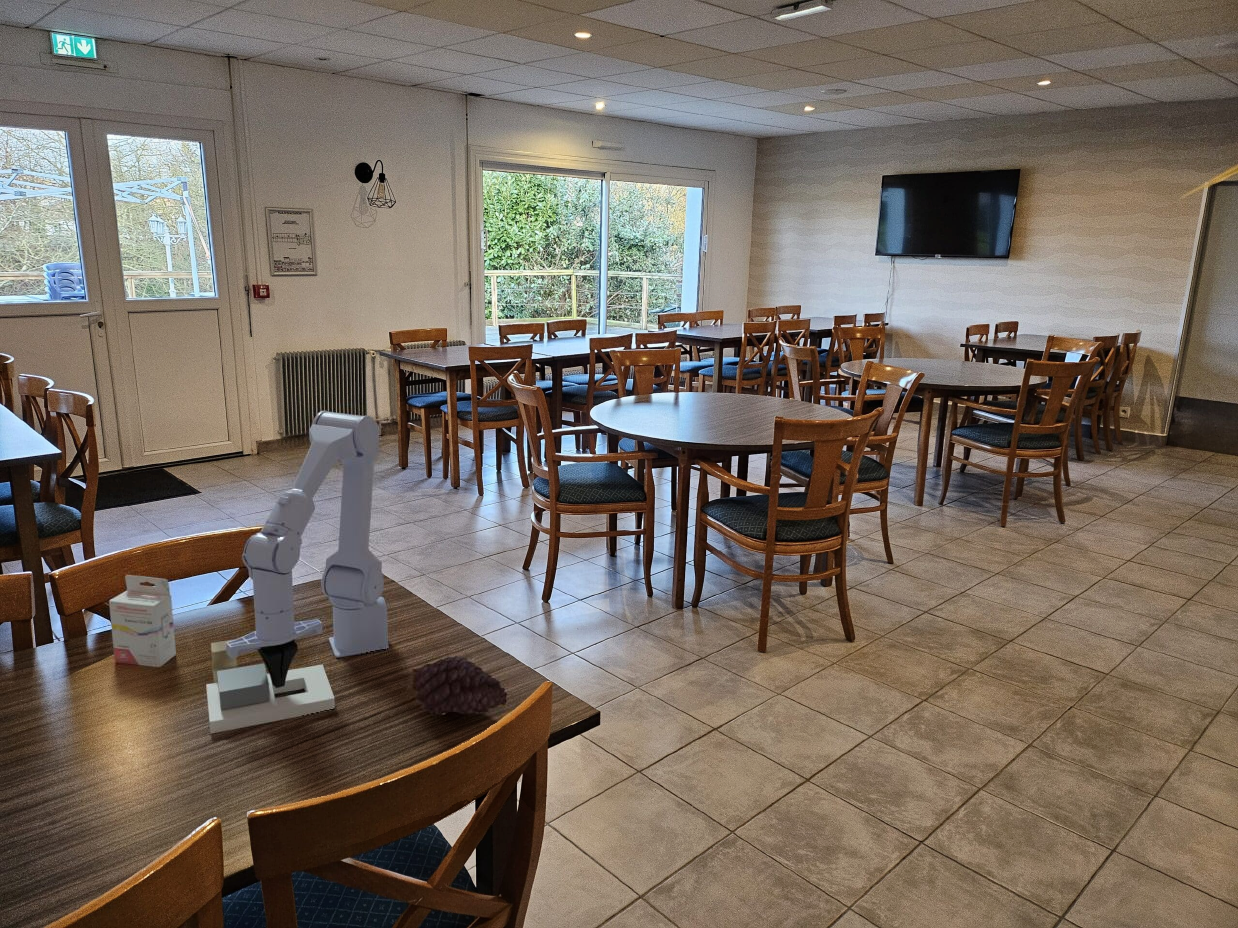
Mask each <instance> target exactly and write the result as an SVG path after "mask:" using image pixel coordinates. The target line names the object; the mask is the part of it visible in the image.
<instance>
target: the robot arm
mask: <svg viewBox="0 0 1238 928" xmlns="http://www.w3.org/2000/svg"><path fill="white" fill-rule="evenodd" d="M308 430H309V431H308V435H309V436H308V437H309V441H310V446H309V448H308V451H307V453H306V456H305V458H304V460H303V462H302V465H301V466H300V470H299V472H298V474H297V475H296V476H297V477H296V479H295V481H294V484H293V487H292V488H291V489H289V490H287V491H283V492H281V494H280V495H279V497H278V499H277V501H276V502H275V504H274V506H273V508H272V510H271V512H270V514H269V515H268V517H267V519H266V521H265V523H264V524H263V526H262V528H261V530H260V532H257V533H255V534H253V535H251V536H250V537H249V538H248V539H247V541H246V543H245V546H244V550H243V553H242V554H241V558H242V563H243V564H244V566H245V567H246V568H247V570H248V577H249V578H250V579H251V580H252V588H253V605H254V606H253V608H254V619H255V621H254V623H255V631H252V632H250V633H248V634H246V635H243V636H241V637H239V638H236V639H232V640H233V641H230V642H227V643H226V651H227V655H228V656H229V657H230V658H231V659H232V658H235V657H236V658H238V657H239V655H242V654H246V653H249V652H254V651H257V652H258V654H259V655H260V657H261V658H262V661H263V663H264V664H265V668H266V669H267V671H268V674H270V677H271V681H272V684H273V685H274V686H275V687H276V688H279V687H282V686H285V681H286V676H287V673H288V670H290V666H291V663H292V662H293V659H294V658H295V655H297V652H298V649H299V648H298V644H297V642H296V639H300V638H304V637H308V636H311V635H321V634H323V622H322V621H321V620H319V619H318V618H314V619H310V620H303V621H301V620H300V621H295V610H294V609H295V608H294V589H293V587H294V586H293V584H294V583H293V569H294V568H295V567H296V565H297V563H298V562H299V560H300V556H301V546H302V544H303V539H302V538H301V537H302V535H303V534H304V532H305V529H306V528H307V526H308V524H309V522H310V520H311V518H312V516H313V514H314V513H315V510H316V505H315V503H314V499H313V498H314V497H315V496H316V494H317V492H318V490H319V489H320V487H321V486H322V484H323V482H324V481H325V479H326V478H327V476H328V475H329V473H330V472H331V470H332V469H333V467H334V465H335V464H336V462H339V461H340V462H341V463H342V465H343V466H342V482H341V483H342V485H341V487H342V488H341V498H340V499H341V500H340V501H341V502H340V518H339V519H340V520H339V533H338V535H339V536H338V550H336V551H335V552H334V553H332V554H330V555H328V556H327V558H326V560H325V568H324V570H323V573H322V577H321V581H320V582H321V583H320V586H321V591H322V593H323V595H324V596H326V597H328V603H331V604H332V622H333V623H332V628H333V630H332V631H333V636H330V637H328V641H329V645H330V646H331V649H332V651H333V654H334V656H335V658H337V659H338V658H343V657H344V658H345V657H349V656H354V655H355V656H356V655H361V653H362V654H367V653H366V652H368V653H371V652H370V651H374V652H376V651H375V650H380V649H386V650H388V649H390V647H389V635H388V634H389V631H388V630H389V625H388V619H389V618H388V609H387V603H386V600H385V598H384V596H381V595H382V594H383V591H384V585H385V579H384V576H383V571H382V568H383V567H382V566H383V563H382V561H381V559H379V558H378V557H377V555H375V554H374V553H373V552H372V551H371V550H370V548H369V547H370V535H371V534H370V533H371V517H372V503H373V502H372V501H373V490H374V487H373V486H374V473H375V472H374V471H375V462H376V461H377V460H378V458H379V451H380V450H379V448H380V447H379V446H380V433H381V432H380V431H381V427H380V426H379V424H378V422H376V420H375V418H373V416H370V415H357V414H349V413H340V412H333V411H332V412H331V411H330V410H321V411H320V412H317V414H316V415H315V417H314V419H313V421H312V422H311V426H310V428H309V429H308ZM387 648H388V649H387ZM380 651H381V650H380Z"/></svg>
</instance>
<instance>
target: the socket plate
mask: <svg viewBox="0 0 1238 928" xmlns="http://www.w3.org/2000/svg"><path fill="white" fill-rule="evenodd" d="M267 677H268V682H269V694H270V701H265V702H259V703H254V704H249V705H243V706H238V707H232V708H227V709H222V710H221V707H220V699H219V690H218V683H214V682H211V683H207V684H205V685H206V696H207V708H208V720H209V732H210V734H215V733H216V734H217V733H220V732H226V731H233V730H236V729H240V728H243V729H244V728H247V727H252V726H257V725H261V724H263V725H264V724H267V723H273V722H278V721H284V720H288V719H292V718H299V717H303V716H302V715H304V716H308V715H307V714H309V715H312V714H311V713H314V714H317V713H316V712H319V713H321V712H320V711H324V710H329V709H333V708H335V709H336V705H335V696H334V693H333V690H332V688H331V684H330V682H329V679H328V676H327V673H326V671H325V668H324V664H318V665H312V666H305V667H300V668H294V669H288V673H287V676H286V681H285V686H282V687H279V688H276V687H275V686H274V685H273V684H272V681H271V677H270V674H269V673H267ZM297 690H304V692H300V693H295V694H290V695H286V696H285V695H284V696H279V697H275V695H276V694H282V693H288V692H293V691H297ZM329 711H330V710H329ZM324 712H325V711H324Z"/></svg>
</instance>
